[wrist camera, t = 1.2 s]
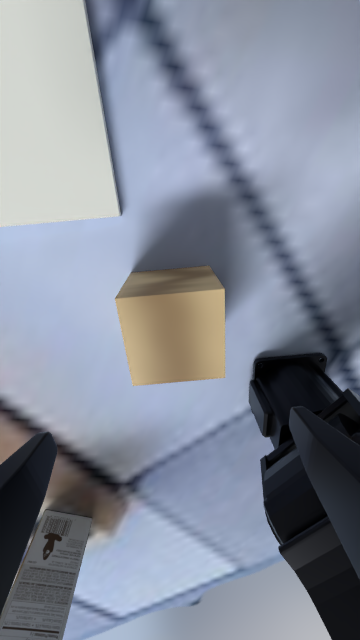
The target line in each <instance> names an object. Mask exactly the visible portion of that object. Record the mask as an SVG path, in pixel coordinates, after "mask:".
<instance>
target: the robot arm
mask: <svg viewBox="0 0 360 640" xmlns="http://www.w3.org/2000/svg"><path fill="white" fill-rule="evenodd" d="M320 358H321V359H320ZM319 359H320V360H319ZM326 362H327V357H326V356H325V355H324V354H322V353H316V354H304V355H293V356H282V357H270V358H259V359H256V360H255V361H254V364H253V380H251V381H250V386H249V404H250V406H251V410H252V413H253V414H254V416H255V419H256V421H257V423H258V426H259V428H260V431H261V433H262V435H263V436H264V437H270V439H271V442H272V444H273V446H274V449H275V450H274V451H272V452H271V453H270V454H269V455H268V456H266V455H265V456H264V457H263V458H262V459H260V462H261V473H262V485H263V497H264V508H265V513H266V517H267V521H268V523H269V525H270V527H271V530H272V532H273V534H274V535H275V537H276V539H277V541H278V542H279V544H280V546H279V552H280V554H281V555H282V556H283V557H284V559H285V560H286V561H287V562H288V564H289V565H290V566H291V567H292V569H293V570H294V571H295V573H296V574H297V576H298V577H299V579H300V581H301V582H302V584H303V585H304V587H305V588H306V590H307V592H308V594H309V595H310V597H311V599H312V601H313V603H314V605H315V607H316V609H317V611H318V613H319V615H320V617H321V619H322V621H323V622H324V624H325V626H326V628H327V631H328V632H329V635H330V636H331V639H332V640H360V396H359V395H357V394H356V393H354V392H353V391H352V390H350V389H349V388H348V389H346V390H345V391H344V392H342V391H341V390H340V388H339V387H338V386H337V385H336V384H335V383H334V382H333V381H332V380H331V379H330V378H329V377H328V376H327V375H326V374H325V367H326ZM260 363H262V364H261V365H258V364H260ZM56 455H57V445H56V443H55V441H54V439H53V437H52V434H51V433H50V432H41V433H37V434H36V435H35V436H34V437H32V438H31V439H30V440H29V441H28V442H26V443H25V444H24V445H23V446H22V447H21V448H19V449H18V450H17V451H16V452H15V453H14V454H12V455H11V456H10V457H9V458H8V459H7V460H5V461H4V462H3V463H2V464H1V465H0V616H1V613H2V611H3V608H4V605H5V603H6V600H7V597H8V595H9V592H10V589H11V587H12V584H13V581H14V579H15V576H16V573H17V571H18V568H19V565H20V563H21V560H22V557H23V555H24V552H25V549H26V546H27V544H28V541H29V538H30V536H31V533H32V530H33V528H34V525H35V522H36V520H37V517H38V514H39V512H40V509H41V506H42V504H43V501H44V498H45V495H46V491H47V488H48V484H49V480H50V477H51V473H52V469H53V466H54V462H55V458H56Z"/></svg>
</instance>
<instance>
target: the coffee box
mask: <svg viewBox="0 0 360 640" xmlns="http://www.w3.org/2000/svg"><path fill="white" fill-rule="evenodd" d="M91 522H92V518H89V517H83V516H78V515H72V514H66V513H61V512H55V511H50V510H45V511H44V513H43V515H42V518H41V520H40V523H39V525H38V527H37V530H36V532H35V534H34V536H33V539H32V541H31V544H30V546H29V548H28V551H27V553H26V555H25V558H24V560H23V562H22V565H21V567H20V569H19V572H18V574H17V577H16V579H15V581H14V584H13V586H12V588H11V591H10V593H9V595H8V598H7V600H6V603H5V605H4V608H3V611H2V613H1V616H0V640H62V639H63V635H64V631H65V627H66V623H67V619H68V615H69V611H70V607H71V603H72V599H73V595H74V591H75V587H76V583H77V579H78V575H79V571H80V567H81V563H82V559H83V555H84V551H85V547H86V543H87V539H88V535H89V531H90V527H91Z"/></svg>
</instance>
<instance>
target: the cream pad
mask: <svg viewBox="0 0 360 640" xmlns="http://www.w3.org/2000/svg"><path fill="white" fill-rule="evenodd" d="M117 216H121V211H120V205H119V199H118V193H117V187H116V181H115V175H114V169H113V163H112V157H111V151H110V145H109V139H108V133H107V127H106V121H105V116H104V110H103V104H102V98H101V92H100V86H99V80H98V74H97V68H96V62H95V56H94V50H93V44H92V38H91V32H90V26H89V20H88V14H87V8H86V2H85V0H0V227H5V226H17V225H28V224H39V223H50V222H61V221H72V220H83V219H94V218H106V217H117Z"/></svg>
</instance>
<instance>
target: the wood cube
mask: <svg viewBox="0 0 360 640" xmlns="http://www.w3.org/2000/svg"><path fill="white" fill-rule="evenodd" d="M115 301H116V306H117V311H118V316H119V321H120V325H121V330H122V335H123V340H124V345H125V350H126V355H127V360H128V365H129V369H130V374H131V379H132V384H133V386H138V385H149V384H160V383H171V382H183V381H194V380H205V379H216V378H225V288H224V287H223V285H222V284H221V283H220V281H219V280H218V278H217V277H216V275H215V274H214V272H213V271H212V269H211V268H210V266H199V267H188V268H177V269H165V270H154V271H143V272H132V273H130V275H129V277H128V278H127V280H126V282H125V283H124V285H123V286H122V288H121V290H120V291H119V293H118V295H117V296H116V298H115Z"/></svg>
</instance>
